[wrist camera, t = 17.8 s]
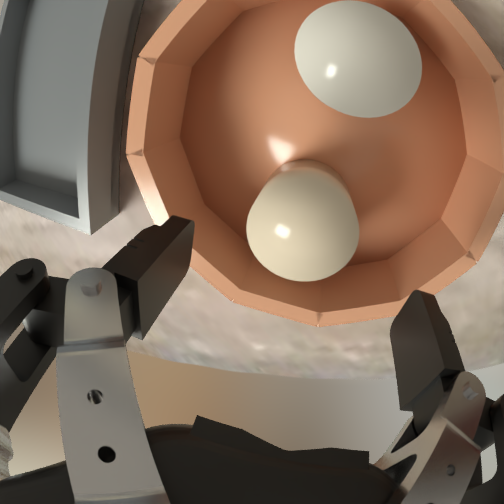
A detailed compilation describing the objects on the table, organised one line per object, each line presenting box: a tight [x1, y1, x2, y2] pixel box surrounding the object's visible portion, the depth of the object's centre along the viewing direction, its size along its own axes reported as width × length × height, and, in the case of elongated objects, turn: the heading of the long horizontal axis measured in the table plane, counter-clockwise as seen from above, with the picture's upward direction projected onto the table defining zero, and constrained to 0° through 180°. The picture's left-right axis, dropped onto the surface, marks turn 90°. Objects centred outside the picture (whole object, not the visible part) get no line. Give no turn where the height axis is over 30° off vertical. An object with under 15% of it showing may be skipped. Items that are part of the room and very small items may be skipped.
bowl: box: [126, 0, 504, 327], centre depth 12 cm, size 18×18×5 cm
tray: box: [0, 0, 144, 235], centre depth 14 cm, size 20×14×4 cm
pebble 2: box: [246, 159, 359, 281], centre depth 14 cm, size 5×5×4 cm
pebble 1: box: [294, 0, 422, 118], centre depth 10 cm, size 5×5×4 cm
